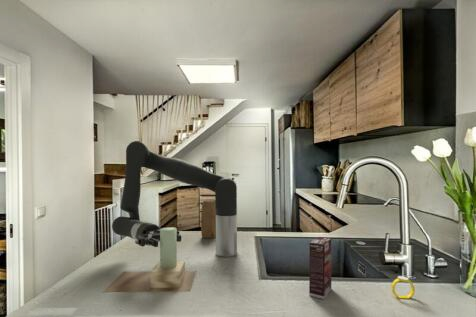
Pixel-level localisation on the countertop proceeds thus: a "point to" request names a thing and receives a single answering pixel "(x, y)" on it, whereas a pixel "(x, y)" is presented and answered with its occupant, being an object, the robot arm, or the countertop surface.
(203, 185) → the robot arm
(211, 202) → the block
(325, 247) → the supplement box
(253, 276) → the countertop surface
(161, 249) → the sage cylinder
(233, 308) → the countertop surface
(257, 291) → the countertop surface
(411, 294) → the watch
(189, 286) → the walnut board
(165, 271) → the beech brick
